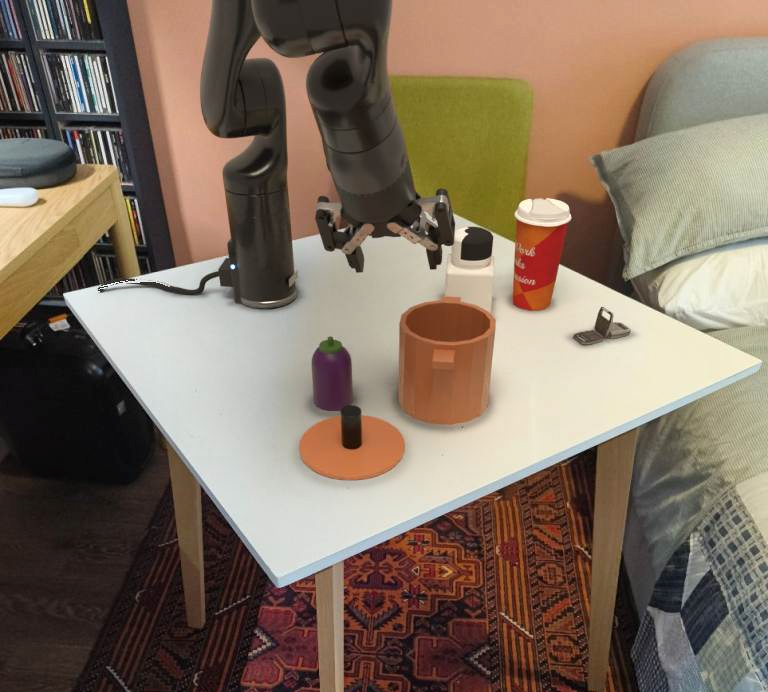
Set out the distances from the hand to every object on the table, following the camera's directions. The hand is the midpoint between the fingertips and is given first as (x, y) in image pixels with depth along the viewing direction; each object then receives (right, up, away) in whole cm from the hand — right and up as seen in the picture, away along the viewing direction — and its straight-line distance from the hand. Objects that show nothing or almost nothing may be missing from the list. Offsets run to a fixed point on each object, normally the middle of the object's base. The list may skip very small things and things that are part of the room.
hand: (396, 264), depth 88 cm
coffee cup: (+22, +5, +34) cm, 41 cm away
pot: (+6, -14, +12) cm, 19 cm away
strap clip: (+31, -3, +26) cm, 40 cm away
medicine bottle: (+12, +4, +33) cm, 35 cm away
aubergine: (-8, -14, +11) cm, 20 cm away
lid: (-5, -21, +3) cm, 22 cm away
